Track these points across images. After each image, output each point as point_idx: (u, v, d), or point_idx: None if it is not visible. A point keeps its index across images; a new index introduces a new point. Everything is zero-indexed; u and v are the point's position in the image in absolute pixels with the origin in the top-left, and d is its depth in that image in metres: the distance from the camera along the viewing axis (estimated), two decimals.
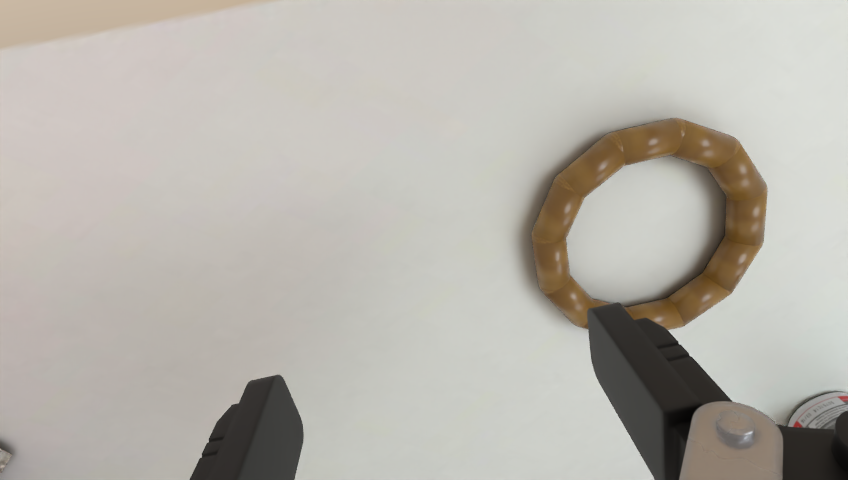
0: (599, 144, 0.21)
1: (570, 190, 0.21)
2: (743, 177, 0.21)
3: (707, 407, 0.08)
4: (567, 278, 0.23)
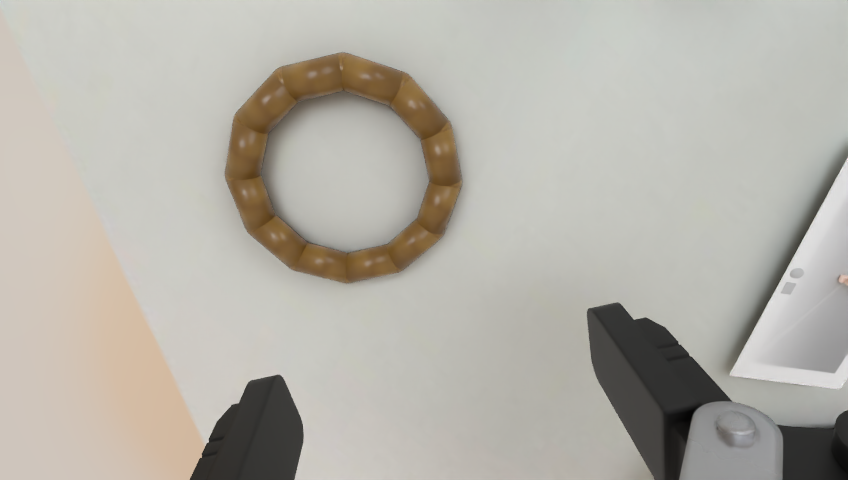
0: (257, 239, 0.24)
1: (296, 266, 0.24)
2: (266, 108, 0.21)
3: (707, 407, 0.08)
4: (384, 255, 0.24)
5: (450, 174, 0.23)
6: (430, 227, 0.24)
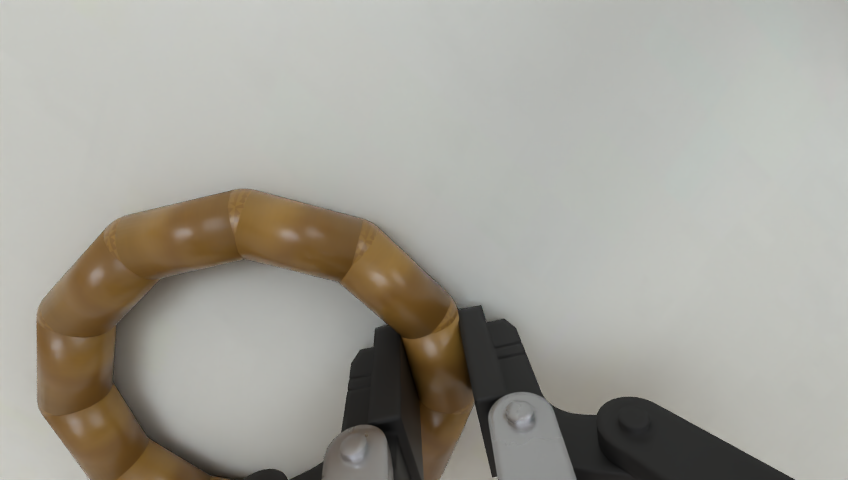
0: None
1: None
2: (92, 300, 0.11)
3: (508, 397, 0.09)
4: None
5: (455, 395, 0.12)
6: None
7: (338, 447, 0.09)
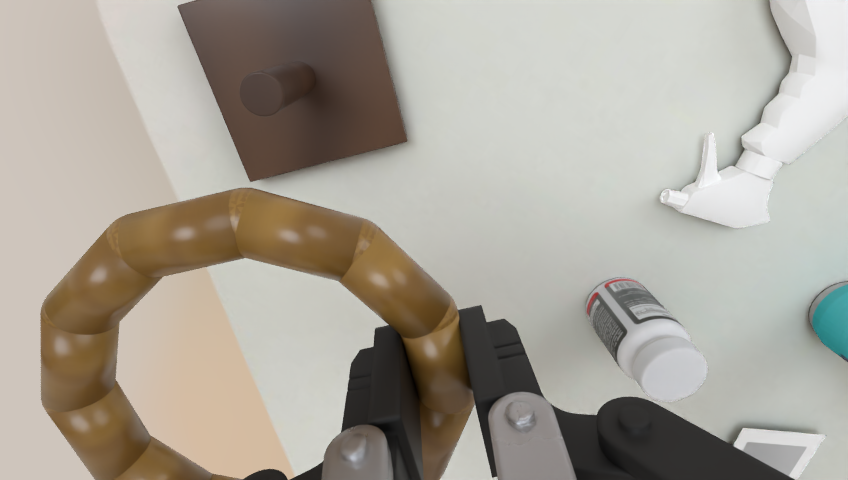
0: None
1: None
2: (94, 298, 0.11)
3: (508, 397, 0.09)
4: None
5: (455, 395, 0.12)
6: None
7: (338, 447, 0.09)
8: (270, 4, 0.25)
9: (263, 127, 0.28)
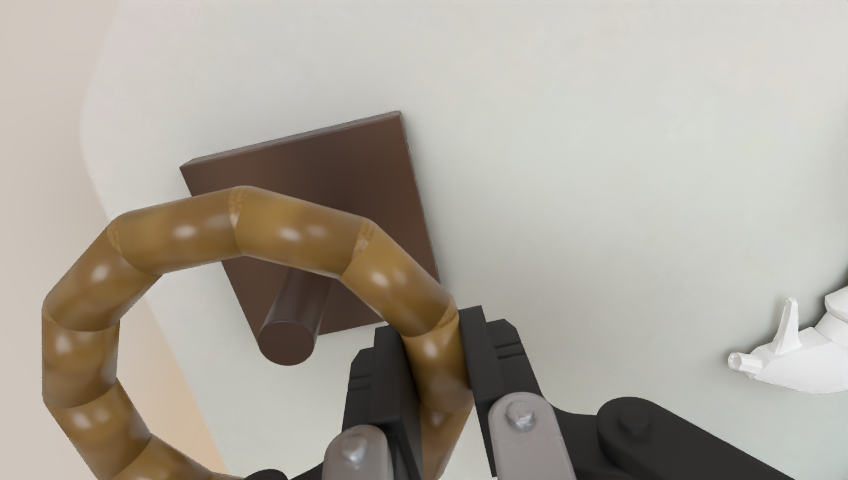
0: None
1: None
2: (95, 295, 0.11)
3: (508, 397, 0.09)
4: None
5: (454, 394, 0.12)
6: None
7: (338, 447, 0.09)
8: (291, 166, 0.21)
9: (277, 294, 0.23)
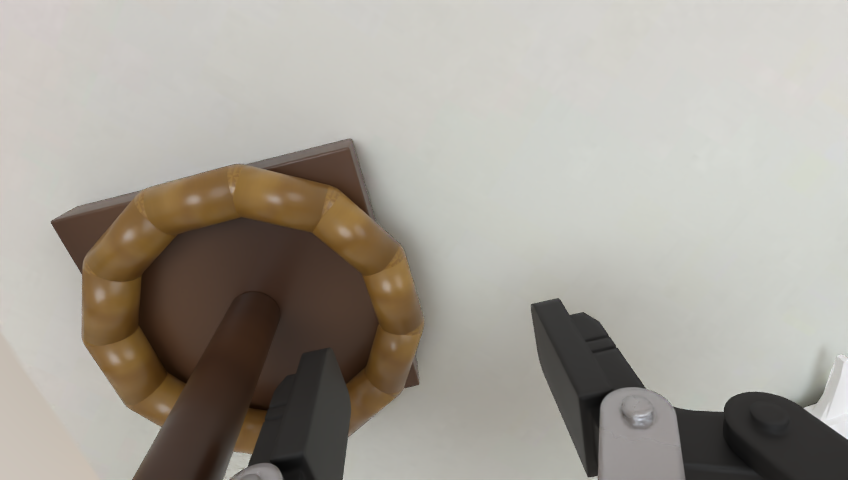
0: None
1: None
2: (126, 251, 0.14)
3: (617, 393, 0.09)
4: None
5: (406, 319, 0.16)
6: (383, 386, 0.17)
7: None
8: None
9: None
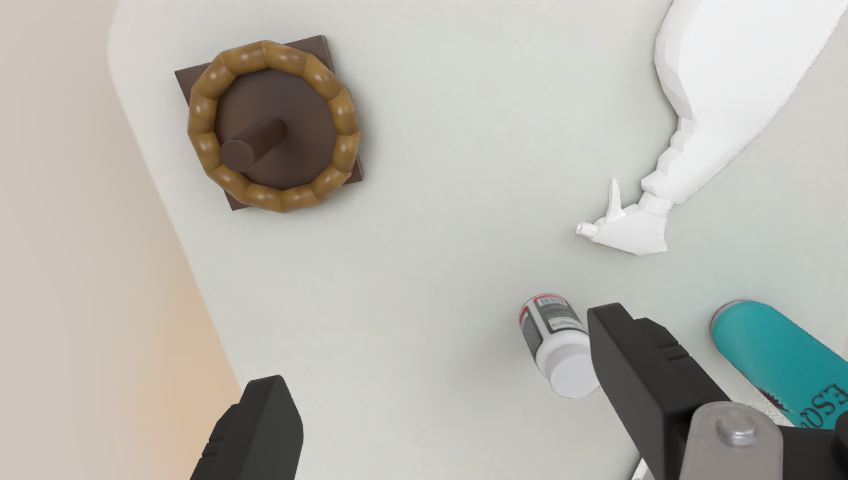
0: (214, 180, 0.33)
1: (243, 199, 0.33)
2: (213, 81, 0.30)
3: (707, 407, 0.08)
4: (308, 190, 0.33)
5: (349, 126, 0.31)
6: (339, 167, 0.32)
7: None
8: None
9: None
